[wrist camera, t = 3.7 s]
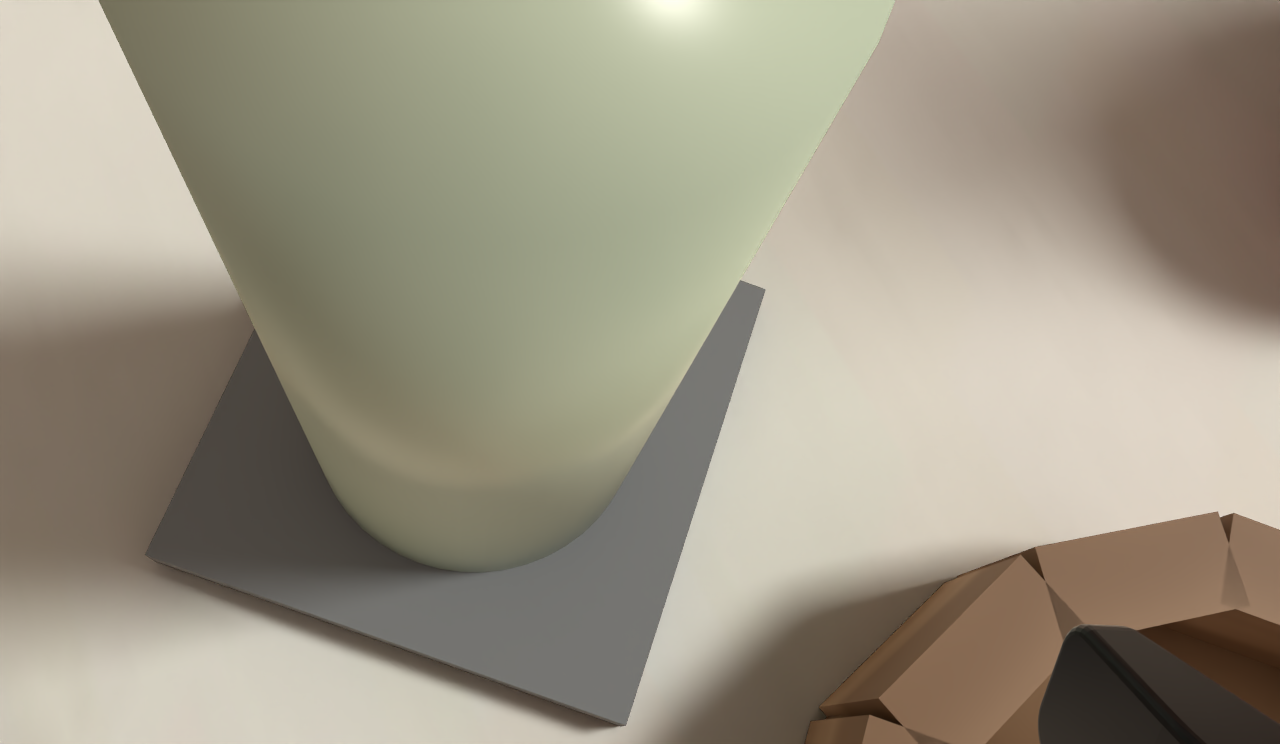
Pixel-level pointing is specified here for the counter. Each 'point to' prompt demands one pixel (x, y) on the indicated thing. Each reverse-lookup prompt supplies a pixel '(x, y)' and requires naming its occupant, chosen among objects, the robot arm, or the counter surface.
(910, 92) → the counter surface
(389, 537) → the candle
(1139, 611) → the bowl
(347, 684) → the counter surface
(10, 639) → the counter surface
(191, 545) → the mat
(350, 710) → the counter surface
